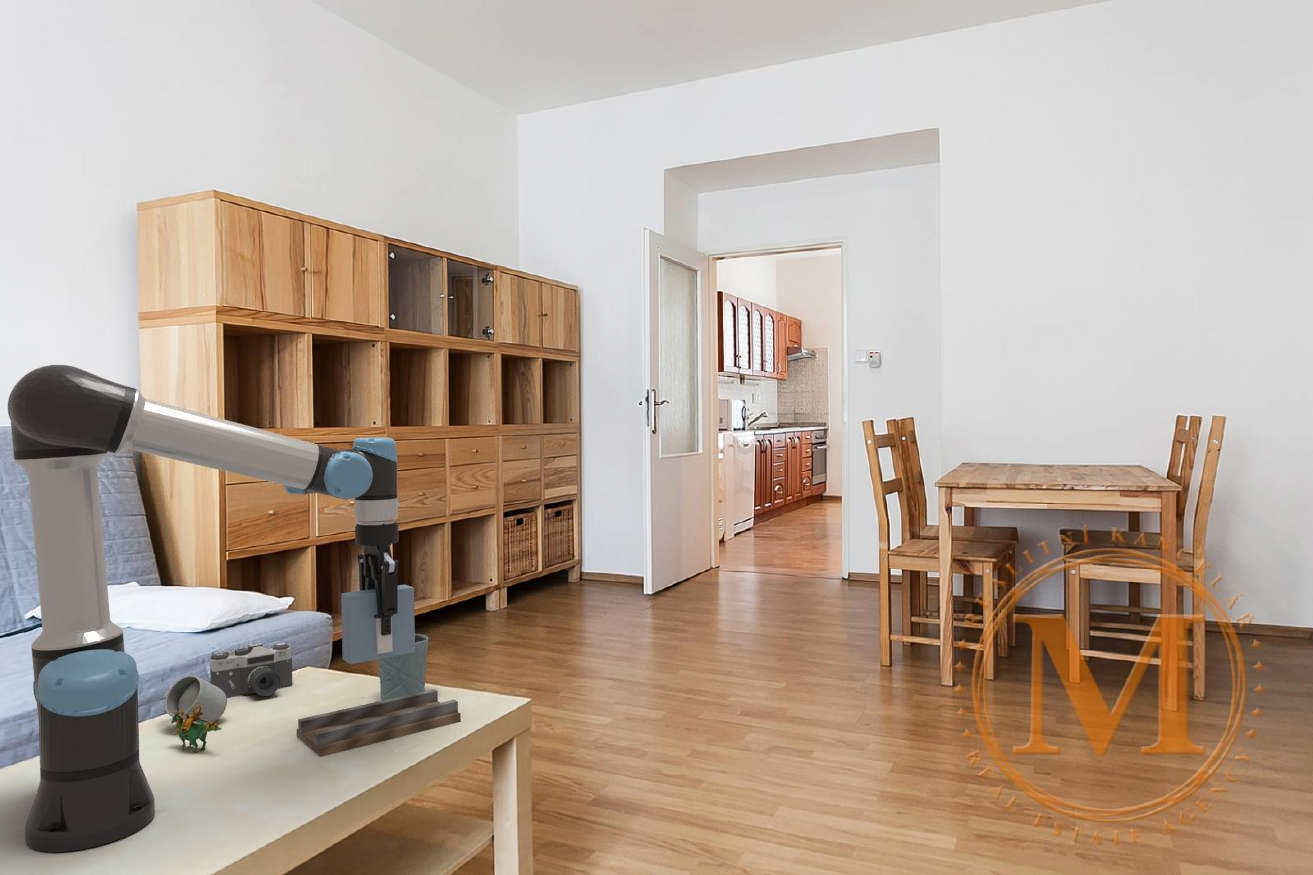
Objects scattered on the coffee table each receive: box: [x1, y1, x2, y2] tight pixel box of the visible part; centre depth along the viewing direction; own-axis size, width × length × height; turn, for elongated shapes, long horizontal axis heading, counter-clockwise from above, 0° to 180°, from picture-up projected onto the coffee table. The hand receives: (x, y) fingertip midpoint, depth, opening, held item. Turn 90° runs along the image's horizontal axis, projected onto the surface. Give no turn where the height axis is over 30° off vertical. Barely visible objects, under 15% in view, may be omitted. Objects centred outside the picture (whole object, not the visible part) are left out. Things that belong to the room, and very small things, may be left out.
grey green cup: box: [377, 633, 429, 701], centre depth 178 cm, size 10×10×12 cm
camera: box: [209, 642, 293, 699], centre depth 180 cm, size 16×10×10 cm, turn 128°
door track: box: [296, 688, 462, 757], centre depth 160 cm, size 26×12×4 cm, turn 130°
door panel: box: [340, 584, 416, 665], centre depth 159 cm, size 12×4×12 cm, turn 130°
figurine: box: [170, 705, 223, 754], centre depth 150 cm, size 3×12×8 cm, turn 67°
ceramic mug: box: [162, 674, 228, 724], centre depth 163 cm, size 11×8×8 cm
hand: (379, 649), depth 160 cm, fingers closed on door panel, 4 cm apart
